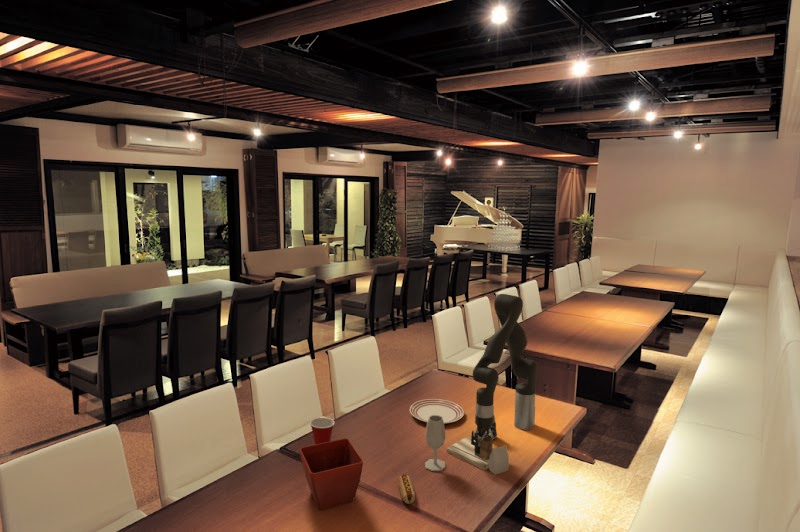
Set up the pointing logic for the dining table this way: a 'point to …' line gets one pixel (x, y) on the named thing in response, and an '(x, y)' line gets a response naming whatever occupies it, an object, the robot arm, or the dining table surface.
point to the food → (406, 489)
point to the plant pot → (332, 472)
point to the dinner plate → (436, 410)
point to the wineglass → (435, 441)
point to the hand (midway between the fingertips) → (483, 449)
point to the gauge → (485, 448)
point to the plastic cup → (322, 429)
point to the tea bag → (499, 460)
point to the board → (468, 453)
